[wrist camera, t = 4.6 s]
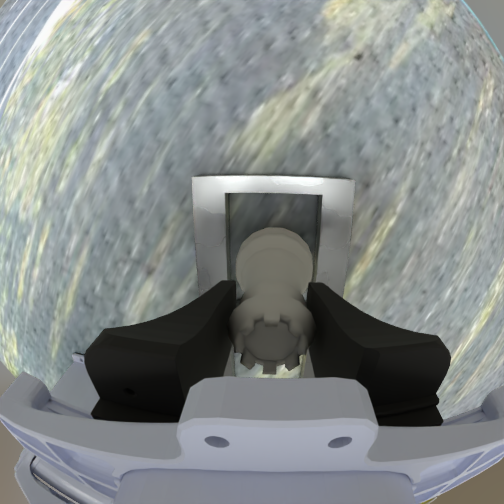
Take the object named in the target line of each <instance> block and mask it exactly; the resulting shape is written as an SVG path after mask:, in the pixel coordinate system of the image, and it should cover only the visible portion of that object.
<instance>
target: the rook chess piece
mask: <svg viewBox="0 0 504 504" xmlns="http://www.w3.org/2000/svg"><path fill="white" fill-rule="evenodd" d="M312 260H313V258H312V255H311V252H310V250H309V247H308V245H307V243H306V242H305V241H304V240H303V239H302V238H301V237H300V236H299V235H298V234H296V233H294V232H292V231H289V230H287V229H285V228H268V227H267V228H265V229H262V230H259V231H257V232H254V233H252V234H251V235H250V236H249V237H248V238H247V239H246V240H245V241H244V242H243V243H242V245H241V247H240V249H239V252H238V254H237V260H236V278H237V280H238V282H239V285H240V287H241V289H242V291H243V292H244V294H243V296H242V298H241V300H240V303H239V306H238V307H237V308H235V309H234V310H233V312H232V314H231V317H230V319H229V321H228V323H227V326H228V338H229V339H230V341H231V343H232V344H233V346H234V353H238V352H239V353H241V354H242V356H241V361H240V363H242V364H243V365H244V366H246V367H247V368H248V369H252V368H253V367H254V366H255V363H257V364H260V365H263V374H276V366H279V365H283V364H285V367H286V368H287V369H288V371H290V370H292V369H294V368H295V367H297V366H298V365H300V362H299V356H300V355H306V354H307V350H308V348H309V347H310V345H311V344H312V342H313V341H314V338H315V331H316V324H315V322H314V319H313V316H312V314H311V312H310V311H309V310H308V309H307V308H306V307H307V306H306V303H305V300H304V298H303V294H304V293H305V291H306V289H307V287H308V283H309V282H311V280H312V273H313V262H312Z"/></svg>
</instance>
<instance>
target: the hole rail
mask: <svg viewBox="0 0 504 504" xmlns="http://www.w3.org/2000/svg"><path fill="white" fill-rule="evenodd" d="M229 193H292V194H318V211H317V228H316V242H315V255H314V267H313V278H312V282H322V283H324V284H325V285H327V286H328V287H329V288H330V289H332V290H333V291H334V292H335V293H337V294H338V295H339V296H340V297H342V298H343V293H344V286H345V280H346V273H347V265H348V258H349V249H350V240H351V231H352V220H353V208H354V194H355V180H353V179H349V178H337V177H322V176H301V175H263V174H231V175H197V176H194V177H192V197H193V218H194V235H195V250H196V264H197V276H198V287H199V297H200V296H201V295H203V294H204V293H205V292H207V291H208V290H209V289H211V288H212V287H213V286H215V285H216V284H217V283H219V282H220V281H222V280H231V272H230V237H229ZM239 303H240V300H236V308H237V307H238V306H239ZM305 303H307V302H305ZM225 376H233V377H235V364H234V346H233V344H232V348H231V351H230V355H229V358H228V361H227V365H226V368H225V372H224V375H223V377H225ZM300 378H315V376H314V371H313V367H312V362H311V358H310V354H309V349H308V350H307V354H306V355H303V360H302V367H301V373H300Z"/></svg>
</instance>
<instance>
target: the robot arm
mask: <svg viewBox="0 0 504 504" xmlns="http://www.w3.org/2000/svg"><path fill="white" fill-rule="evenodd" d="M306 306H307V307H306V308H307V309H308V310H309V311H310V312H311V314H312V316H313V319H314V322H315V324H316V331H315V338H314V341H313V342H312V344H311V345H310V347H309V348H308V349H309V354H310V358H311V362H312V367H313V371H314V376H315V378H250V377H233V376H225V377H223V375H224V372H225V368H226V365H227V361H228V358H229V355H230V351H231V348H232V343H231V341H230V339H229V338H228V326H227V323H228V321H229V319H230V317H231V314H232V312H233V310H234V309H235V308H236V281H232V280H222V281H220V282H219V283H217V284H216V285H215V286H213V287H212V288H211V289H209V290H208V291H207V292H205V293H204V294H203V295H201V296H200V297H198V298H197V299H195V300H194V301H192V302H191V303H189V304H187V305H186V306H184V307H182V308H180V309H178V310H176V311H174V312H172V313H170V314H167V315H164V316H162V317H159V318H156V319H153V320H150V321H147V322H143V323H139V324H135V325H130V326H123V327H116V328H107V329H104V330H103V331H102V332H101V333H100V335H99V336H98V337H97V338H96V339H95V341H94V342H93V343H92V344H91V345H90V347H89V348H88V349H87V350H86V353H85V355H84V356H83V355H79V354H76V353H74V354H73V355H72V358H73V360H74V362H73V363H72V365H71V366H70V367H69V368H68V370H67V371H66V372H65V373H64V375H63V376H62V377H61V378H60V380H59V381H58V382H57V384H56V385H55V386H54V387H53V389H52V390H51V391H50V392H49V390H48V388H47V387H46V385H45V384H44V383H43V382H42V381H41V380H40V379H38V378H36V377H34V376H32V375H30V374H28V373H26V372H22V373H21V374H20V375H19V376H18V377H17V378H16V379H15V381H14V382H13V383H12V384H11V385H10V386H9V388H8V389H7V390H6V391H5V392H4V393H3V395H2V396H1V397H0V420H1V422H2V423H3V424H4V425H5V427H6V428H7V429H8V430H9V431H10V433H11V434H12V435H13V436H14V437H15V438H16V439H17V440H18V442H19V443H20V444H21V445H22V446H23V447H24V449H23V451H22V453H21V454H20V456H19V457H20V459H19V461H18V462H17V464H16V466H15V467H14V470H15V478H16V480H17V482H18V484H19V486H20V488H21V490H22V492H23V493H24V495H25V497H26V499H27V500H28V502H29V504H75V503H73V502H71V501H70V500H68V499H66V498H65V497H63V496H61V495H60V494H58V493H57V492H55V491H54V490H52V489H51V488H49V487H48V486H47V485H45V484H44V483H42V482H41V481H40V480H39V479H37V478H36V477H35V475H34V474H36V475H37V476H38V477H40V478H41V479H43V480H44V481H45V482H47V483H48V484H50V485H51V486H52V487H54V488H55V489H57V490H58V491H60V492H61V493H63V494H65V495H66V496H68V497H70V498H71V499H73V500H74V501H76V502H78V503H80V504H420V503H422V502H425V501H427V500H429V499H432V498H434V497H436V496H438V495H440V494H442V493H444V492H446V491H448V490H450V489H452V488H454V487H456V486H458V485H460V484H461V483H463V482H465V481H467V480H468V479H470V478H472V477H474V476H476V475H477V474H479V473H481V472H482V471H484V470H486V469H487V468H489V467H491V466H492V465H494V464H495V463H497V462H498V461H500V460H501V459H502V458H503V457H504V385H503V386H501V387H499V388H497V389H495V390H493V391H491V392H490V393H489V394H488V395H487V397H486V398H485V399H484V401H483V403H482V405H481V406H480V407H478V408H475V409H473V410H470V411H467V412H465V413H462V414H459V415H457V416H454V417H451V418H448V419H445V420H443V419H442V417H441V415H440V413H439V411H438V409H437V407H436V405H438V403H439V398H438V397H437V395H436V392H437V390H438V389H439V387H440V385H441V383H442V381H443V380H444V378H445V376H446V374H447V371H448V369H449V366H450V361H451V356H450V352H449V350H448V349H447V348H446V346H445V345H444V343H443V342H442V341H441V339H440V338H439V337H438V336H436V335H430V334H424V333H418V332H413V331H409V330H406V329H402V328H399V327H396V326H393V325H390V324H388V323H385V322H382V321H380V320H378V319H376V318H374V317H372V316H370V315H368V314H366V313H364V312H362V311H361V310H359V309H358V308H356V307H355V306H353V305H351V304H350V303H349V302H347V301H346V300H344V299H343V298H342V297H340V296H339V295H338V294H337V293H335V292H334V291H333V290H332V289H330V288H329V287H328V286H327V285H325V284H324V283H322V282H309V283H308V293H307V303H306ZM30 463H31V464H30ZM33 473H34V474H33Z"/></svg>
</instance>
